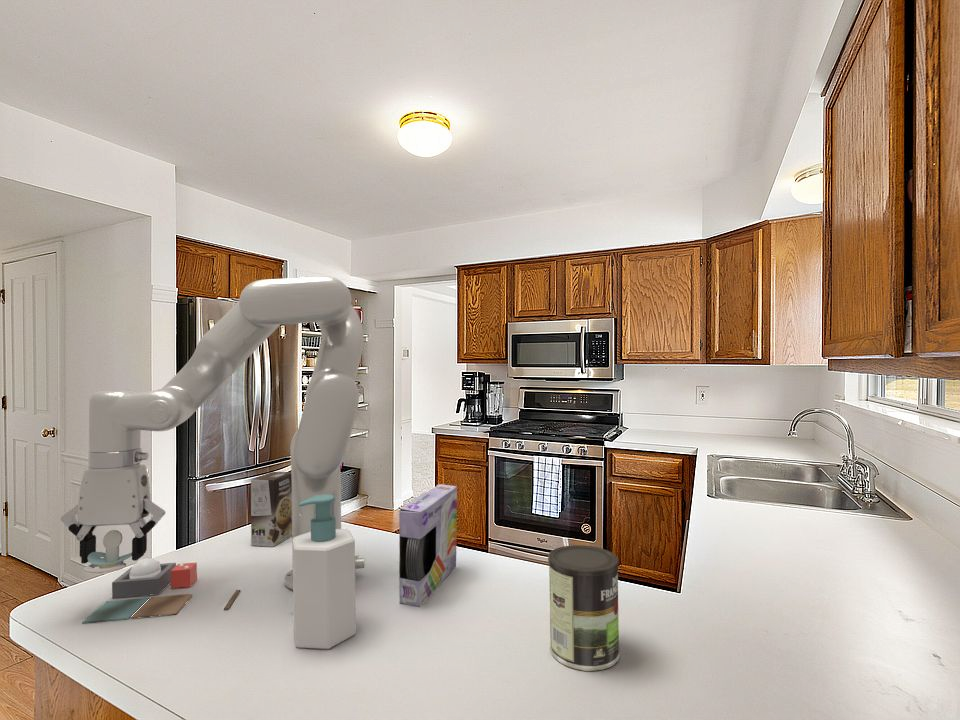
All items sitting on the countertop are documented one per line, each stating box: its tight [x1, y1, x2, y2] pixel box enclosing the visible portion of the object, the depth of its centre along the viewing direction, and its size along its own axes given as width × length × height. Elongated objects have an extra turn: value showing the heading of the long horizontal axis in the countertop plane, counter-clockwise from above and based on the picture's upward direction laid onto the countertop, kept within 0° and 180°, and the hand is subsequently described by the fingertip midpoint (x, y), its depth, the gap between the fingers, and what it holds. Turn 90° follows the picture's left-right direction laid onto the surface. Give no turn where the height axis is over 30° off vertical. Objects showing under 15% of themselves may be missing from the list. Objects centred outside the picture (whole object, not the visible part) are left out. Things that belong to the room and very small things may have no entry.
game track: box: [81, 589, 241, 625], centre depth 92 cm, size 23×8×1 cm, turn 100°
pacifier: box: [83, 529, 132, 574], centre depth 89 cm, size 7×6×6 cm
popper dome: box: [129, 557, 161, 579], centre depth 100 cm, size 5×5×5 cm
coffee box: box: [250, 471, 292, 548], centre depth 126 cm, size 9×6×16 cm
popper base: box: [111, 561, 198, 599], centre depth 101 cm, size 13×8×4 cm, turn 100°
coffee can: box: [547, 544, 621, 672], centre depth 76 cm, size 10×10×14 cm
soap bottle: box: [291, 494, 357, 650], centre depth 82 cm, size 10×9×22 cm
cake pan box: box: [398, 483, 458, 608], centre depth 99 cm, size 19×5×18 cm, turn 161°
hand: (113, 558), depth 91 cm, fingers closed on pacifier, 7 cm apart
